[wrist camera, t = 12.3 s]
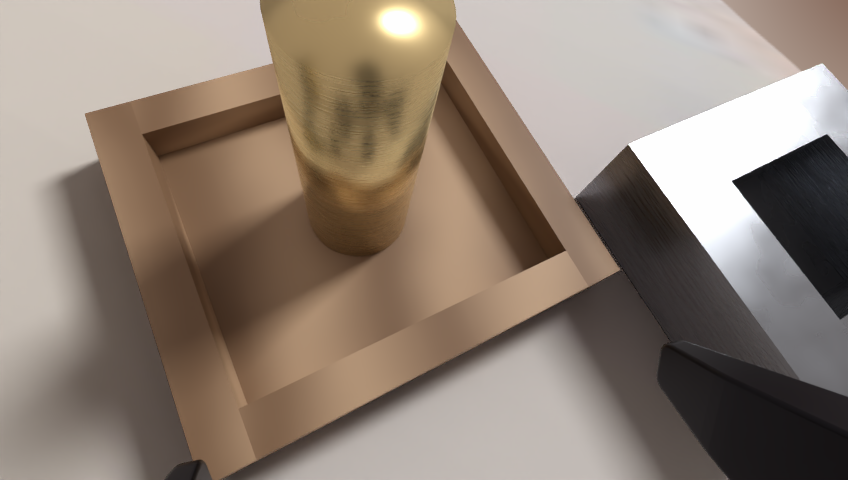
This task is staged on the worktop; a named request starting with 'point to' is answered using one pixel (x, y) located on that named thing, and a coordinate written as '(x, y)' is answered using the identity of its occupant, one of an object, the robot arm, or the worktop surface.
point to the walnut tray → (327, 255)
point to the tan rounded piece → (358, 107)
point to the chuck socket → (742, 227)
